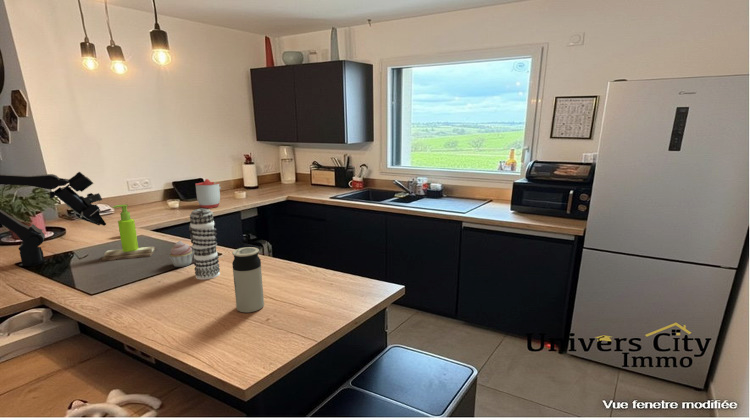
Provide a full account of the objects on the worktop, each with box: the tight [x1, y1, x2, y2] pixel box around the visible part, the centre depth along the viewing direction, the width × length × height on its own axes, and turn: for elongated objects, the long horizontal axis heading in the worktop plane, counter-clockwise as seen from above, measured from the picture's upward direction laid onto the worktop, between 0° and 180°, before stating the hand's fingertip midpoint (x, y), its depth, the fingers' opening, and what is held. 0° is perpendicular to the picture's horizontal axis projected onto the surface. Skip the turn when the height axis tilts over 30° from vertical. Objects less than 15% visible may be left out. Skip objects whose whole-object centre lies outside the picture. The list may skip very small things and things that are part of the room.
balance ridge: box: [101, 246, 157, 262], centre depth 165 cm, size 18×10×2 cm, turn 107°
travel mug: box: [231, 246, 265, 314], centre depth 113 cm, size 8×8×18 cm
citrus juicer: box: [194, 178, 222, 209], centre depth 266 cm, size 16×17×20 cm
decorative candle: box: [188, 208, 221, 281], centre depth 138 cm, size 9×9×25 cm
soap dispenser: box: [112, 204, 139, 252], centre depth 162 cm, size 6×7×20 cm
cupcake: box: [168, 240, 194, 268], centre depth 151 cm, size 9×9×10 cm
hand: (102, 224), depth 167 cm, fingers open, 9 cm apart
